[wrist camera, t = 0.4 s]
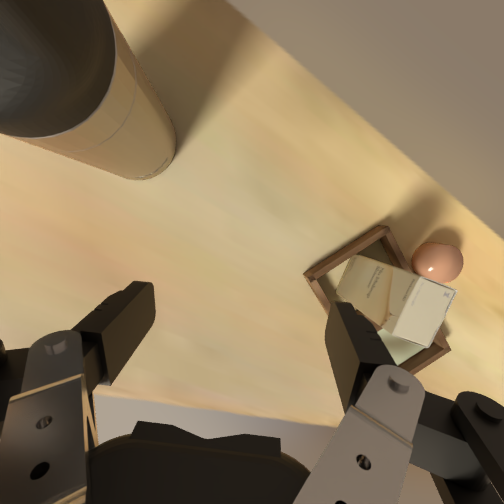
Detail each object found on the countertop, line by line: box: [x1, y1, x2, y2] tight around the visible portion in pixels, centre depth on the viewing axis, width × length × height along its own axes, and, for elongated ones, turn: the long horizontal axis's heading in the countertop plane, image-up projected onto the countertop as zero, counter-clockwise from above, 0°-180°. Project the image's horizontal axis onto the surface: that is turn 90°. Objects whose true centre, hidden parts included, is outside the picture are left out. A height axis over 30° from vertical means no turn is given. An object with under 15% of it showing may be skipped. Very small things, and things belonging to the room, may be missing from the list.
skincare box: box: [336, 254, 457, 348], centre depth 29 cm, size 6×4×12 cm
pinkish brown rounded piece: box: [412, 243, 463, 283], centre depth 35 cm, size 5×5×3 cm
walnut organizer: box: [303, 225, 451, 375], centre depth 35 cm, size 21×12×2 cm, turn 32°
